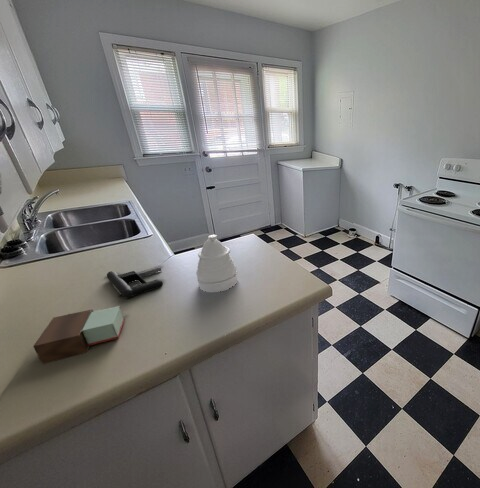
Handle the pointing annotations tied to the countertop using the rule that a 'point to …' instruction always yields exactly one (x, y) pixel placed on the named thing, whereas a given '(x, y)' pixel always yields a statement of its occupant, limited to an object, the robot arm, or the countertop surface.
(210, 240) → the honey pot
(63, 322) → the stand
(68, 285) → the countertop surface
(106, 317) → the mint and red box
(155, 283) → the door handle
